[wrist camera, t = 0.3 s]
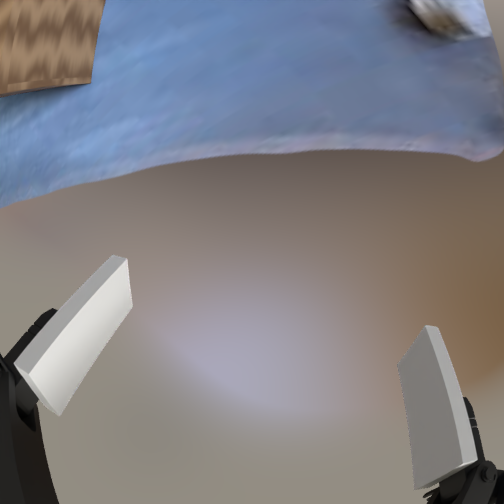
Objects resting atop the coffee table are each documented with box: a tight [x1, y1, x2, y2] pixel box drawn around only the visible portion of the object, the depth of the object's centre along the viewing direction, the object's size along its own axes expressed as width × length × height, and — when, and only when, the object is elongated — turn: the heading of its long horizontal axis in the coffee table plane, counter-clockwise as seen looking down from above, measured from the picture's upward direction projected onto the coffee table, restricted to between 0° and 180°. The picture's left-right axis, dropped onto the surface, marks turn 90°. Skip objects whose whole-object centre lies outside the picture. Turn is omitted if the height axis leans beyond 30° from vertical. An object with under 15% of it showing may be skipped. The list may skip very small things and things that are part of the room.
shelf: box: [0, 0, 106, 98], centre depth 21 cm, size 17×16×18 cm
